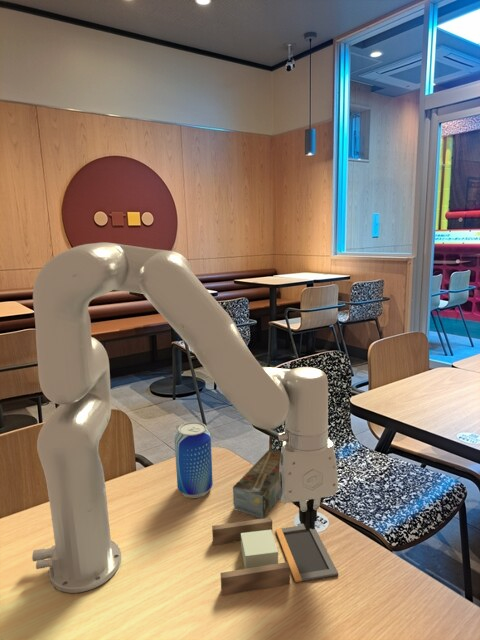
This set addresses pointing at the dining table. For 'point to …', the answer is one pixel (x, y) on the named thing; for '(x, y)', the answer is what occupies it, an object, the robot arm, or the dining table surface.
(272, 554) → the block
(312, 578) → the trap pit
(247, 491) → the beverage carton
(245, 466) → the dining table surface
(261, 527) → the brown parallel walls
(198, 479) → the beer can
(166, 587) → the dining table surface
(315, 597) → the dining table surface
